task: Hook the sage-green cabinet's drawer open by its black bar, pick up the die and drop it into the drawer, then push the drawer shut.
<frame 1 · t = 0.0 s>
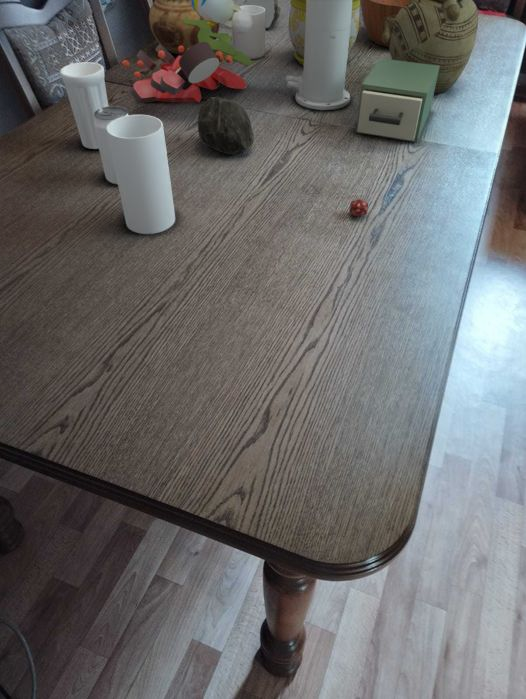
bowl: (399, 41, 157), on the table
flowerpot: (321, 61, 146), on the table
ceramic vessel: (421, 86, 134), on the table
drawer: (393, 107, 113), point 5 cm above the table, slide at 0.5 cm
cabinet: (393, 122, 119), on the table
cup: (151, 221, 92), on the table
mug: (250, 53, 150), on the table
sculpture: (263, 22, 170), on the table
sushi set: (196, 94, 130), on the table
rock: (226, 148, 111), on the table
cup 2: (98, 144, 112), on the table
can: (123, 178, 102), on the table
clay pot: (187, 50, 152), on the table
die: (357, 216, 93), on the table
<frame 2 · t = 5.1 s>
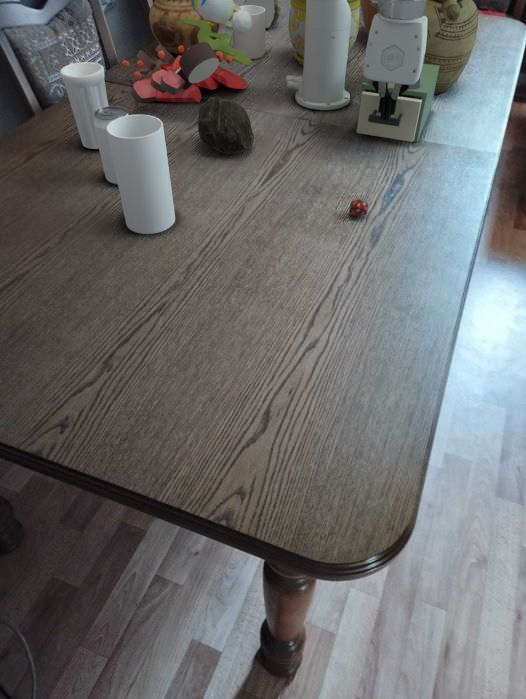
hand: (385, 117, 105), 7 cm above the table, tool pointing down, fingers closed
drawer: (392, 108, 112), point 5 cm above the table, slide at 1.1 cm, touching gripper
everything else where it was.
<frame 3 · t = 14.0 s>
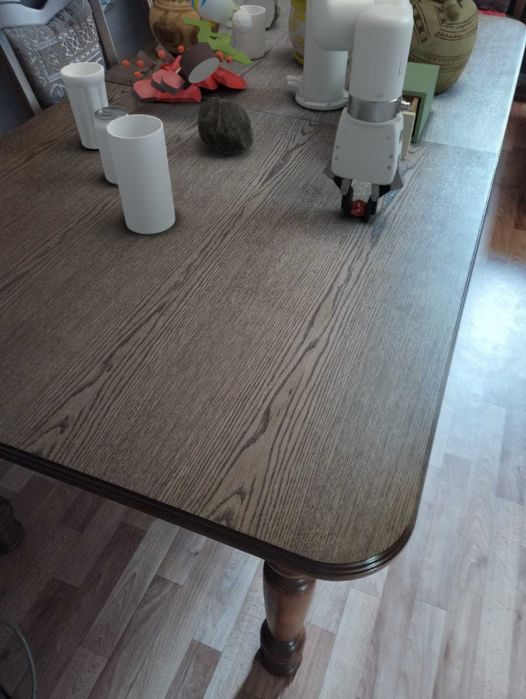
hand: (357, 214, 93), 0 cm above the table, tool pointing down, fingers closed on die, 3 cm apart
drawer: (386, 120, 108), point 5 cm above the table, slide at 7.5 cm
die: (357, 216, 93), on the table, touching gripper
everything else where it was.
when the fingers open (8 cm above the table, at t = 20.9 s): die moves 1 cm, resting on drawer.
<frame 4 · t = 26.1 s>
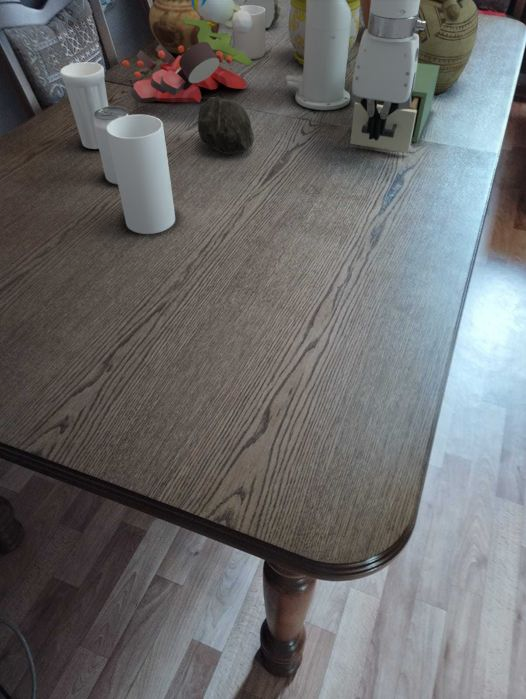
hand: (375, 136, 101), 6 cm above the table, tool pointing down, fingers closed
drawer: (387, 118, 109), point 5 cm above the table, slide at 6.2 cm, touching die, gripper
die: (379, 135, 110), point 2 cm above the table, touching drawer
everything else where it was.
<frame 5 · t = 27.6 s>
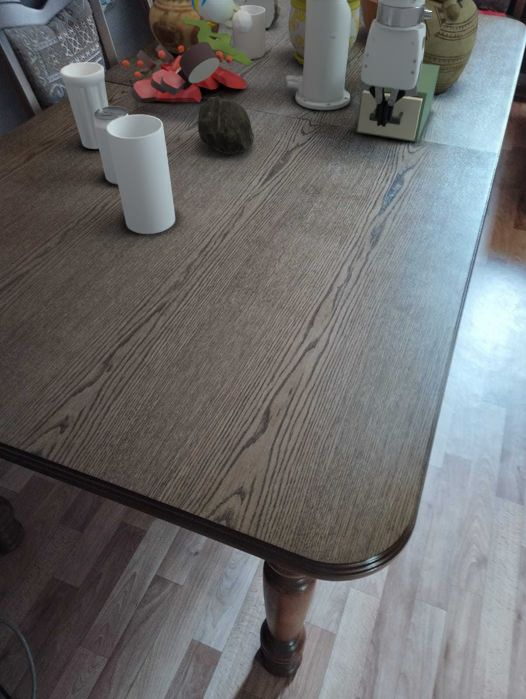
hand: (382, 123, 105), 6 cm above the table, tool pointing down, fingers closed
drawer: (393, 106, 113), point 5 cm above the table, slide at 0.3 cm, touching die
die: (386, 123, 114), point 2 cm above the table, touching drawer
everything else where it was.
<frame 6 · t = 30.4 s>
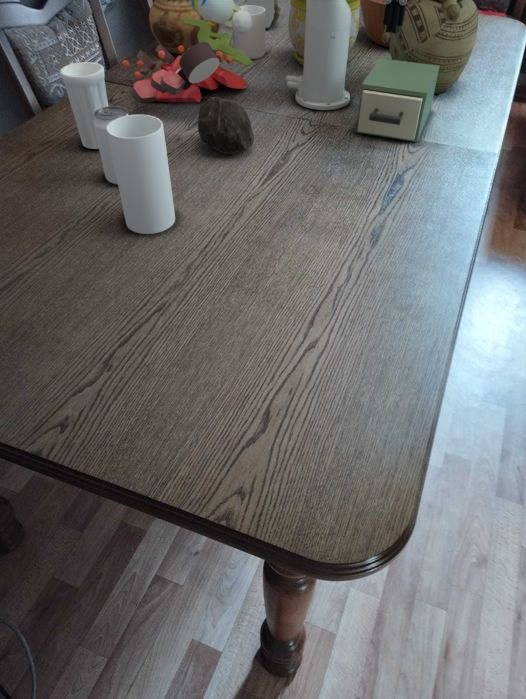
hand: (392, 30, 89), 23 cm above the table, tool pointing down, fingers closed
nothing on the table moved.
at the end: drawer pulled out 7.8 cm at the most during the clip, back to 0.3 cm at the end; die inside the target area in the cabinet (5.6 cm from its centre), point 1.9 cm above the cabinet's base; drawer slide at 0.3 cm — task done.
